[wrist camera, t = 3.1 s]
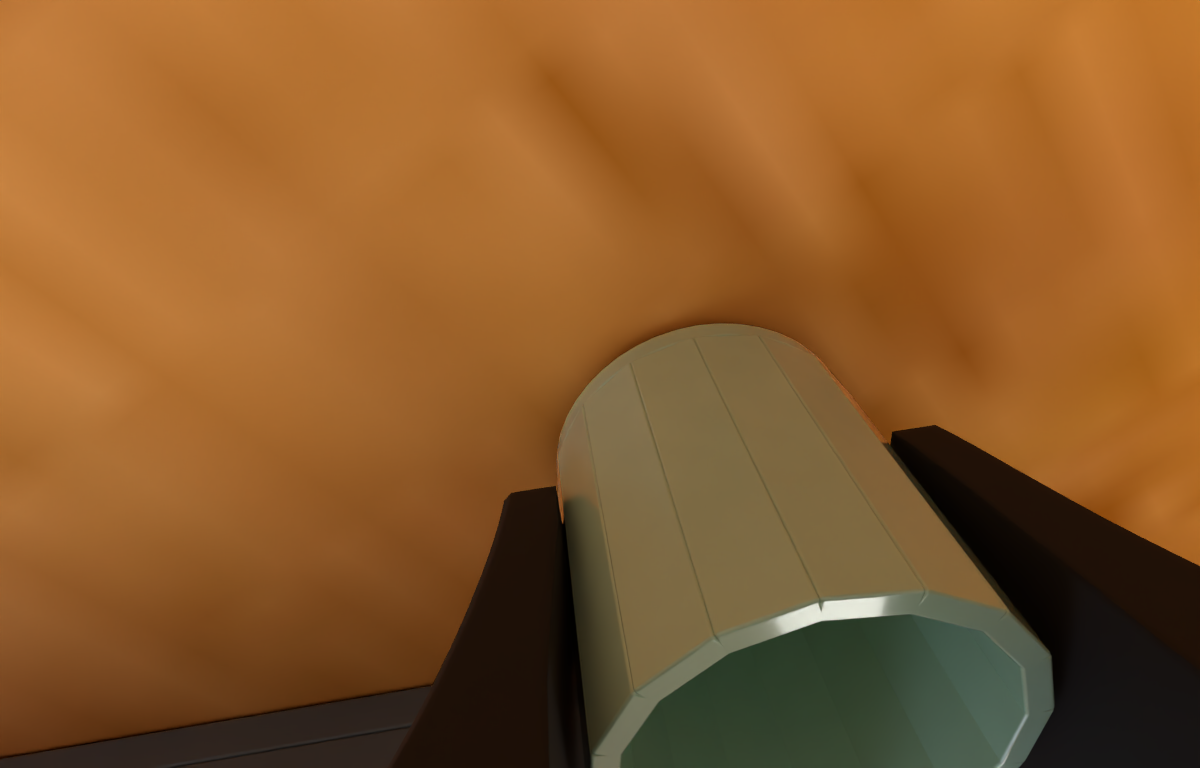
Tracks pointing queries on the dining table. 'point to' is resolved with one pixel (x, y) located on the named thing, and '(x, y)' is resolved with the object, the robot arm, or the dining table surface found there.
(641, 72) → the dining table surface
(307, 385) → the dining table surface
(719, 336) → the pale green cup
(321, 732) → the cabinet
